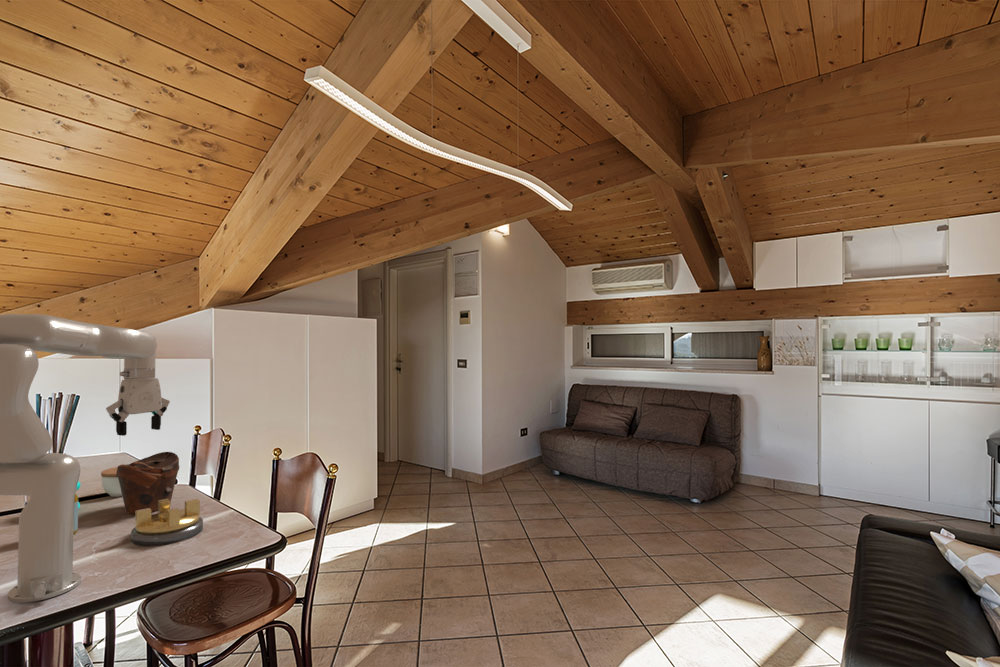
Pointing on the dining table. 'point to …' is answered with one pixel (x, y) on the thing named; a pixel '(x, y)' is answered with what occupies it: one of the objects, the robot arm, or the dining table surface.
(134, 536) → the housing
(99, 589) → the dining table surface
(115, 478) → the lidded bowl
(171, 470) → the brown chunky piece
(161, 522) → the gold crown turntable
